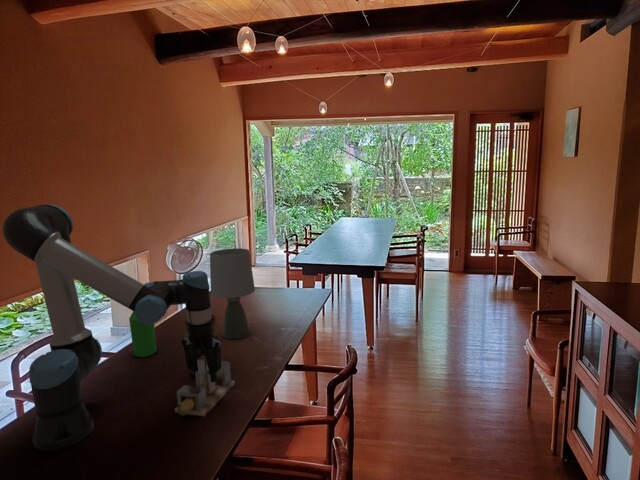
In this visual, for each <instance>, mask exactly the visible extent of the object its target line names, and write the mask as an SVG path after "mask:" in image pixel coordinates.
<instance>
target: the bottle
mask: <svg viewBox="0 0 640 480" xmlns="http://www.w3.org/2000/svg"><path fill="white" fill-rule="evenodd" d="M128 321H129V326H130V334H131V335H130V337H131V343H132V350H133V356H135V357H136V358H148V357H150V356H153V355H155V353H156V352H157V350H158V348H157V347H158V346H157V341H156V339H157V337H156V332H155V331H156V330H155V323H154V324H144V323H142V322H140V321H139V320H138V319H137V317H136V316H135V312H134V311H132V313H131V314H130V317H129V320H128Z"/></svg>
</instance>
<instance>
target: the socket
mask: <svg viewBox="0 0 640 480" xmlns="http://www.w3.org/2000/svg"><path fill="white" fill-rule="evenodd" d="M230 363H231V362H230V361H224V360H221V369H220V370H219V371H217V372H216V377H217V380H218V381H222V386H226V385H227V384H228V383H229V382H230V381H232V374H231V364H230Z"/></svg>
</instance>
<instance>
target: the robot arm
mask: <svg viewBox="0 0 640 480" xmlns="http://www.w3.org/2000/svg"><path fill="white" fill-rule="evenodd" d="M73 230H74V222H73V218H72V217H71V215H70V214H69V212H68V211H67V210H66V209H65V208H63V207H60V206H59V205H55V204H49V203H48V204H47V203H44V204H37V205H34V206H29V207H23V208H18V209H16V210H14V211H12V212H11V213H10V214H9V215H7V217H5V219H4V222H3V224H2V235H3V238H4V239H5V241H6V243H7V244H8V245H9V246H10V247H11V249H13V250H14V251H16V252H17V253H19V254H20V255H22V256H23V257H25V258H27V259H29V260H31V261H33V262H34V263H35V266H36V270H37V274H38V278H39V282H40V287H41V290H42V295H43V298H44V302H45V307H46V310H47V314H48V318H49V324H50V327H51V330H52V338H51V339H50V341H49V348H50V351H48V352H46V353H45V354H41V355H39V356H38V357H36V358H35V359H34V360H33V361H32V362H31V364H30V365H29V368H28V369H29V370H28V372H29V383H30V386H31V391H32V392H31V393H32V398H33V403H34V404H33V405H34V409H35V415H36V418H35V425H34V430H33V432H32V443H33V446H34V448H35V449H37V450H40V451H44V452H46V451H47V452H49V451H50V452H51V451H57V450H62V449H66V448H69V447H71V446H74V445H76V444H78V443H80V442H81V441H83V440H85V439H86V438H87V437H88V436H89V435H91V434H92V432H93V431H94V427H95V425H94V420H93V419H94V418H93V416H92V415H91V413H90V411H89V410H88V408H87V407H86V405H85V403H84V398H83V390H82V384H83V383H84V381H86V380H87V378H88V377H89V376H90V375H91V373H93V372H94V370H95V369H96V368H97V366H98V365H99V363H100V361H101V359H102V355H103V351H102V350H103V349H102V345H101V343H100V342H99V340H98V339H97V338H95V337H94V336H93V332H92V330H91V329H89V328H86V326H85V321H84V317H83V314H82V309H81V304H80V300H79V296H78V291H77V288H76V284H75V283H76V282H75V280H76V281H78V282H80V283H82V284H83V285H85V286H86V287H89V288H91V289H93V290H94V291H96V292H98V293H100V294H101V295H103V296H105V297H107V298H109V299H111V300H113V301H114V302H116V303H117V304H120V305H121V306H123V307H126V308H127V309H129V310H131V311H132V312H133V311H134V312H135V316H136V317H137V319H138V320H139V321H140V322H142V323H144V324H154V325H155V324H156V323H158V322H159V321H160V320H161V319H162V318H163V317H164V316H165V315H166V314H167V311H168V309H169V308H170V307H171V306H176V305H177V306H178V305H185V314H186V318H187V321H188V333H189V337H186V338H185V337H184V339H182V340H181V344H182V346H183V349H184V358H185V364H186V368H187V369H188V370H190V369H191V370H192V371H191V370H190V371H191V372H193V374H194V376H193V379H194V381H195V384H196V387H199V386H200V384H199V374H198V364H197V359H198V358H200V355H201V350H203V353H204V354H205V357H206V361H207V365H208V369H209V373H207V376H208V387H209V393H212V392H213V391H214V390H215V381H216V379H217V377H216V372H217V371H219V370H220V369H221V361H222V345H223V341H222V340H221V339H218V340H216V339H214V336H213V325H212V320H211V318H212V315H211V313H212V307H211V304H212V303H211V290H210V284H209V283H210V282H209V276H208V274H207V273H206V271H203V270H194V271H188V272H185V273H184V274H182V279H175V280H161V281H158V280H154V281H150V282H149V281H147V282H145V283H144V284H143V283H142V282H140V281H138V280H137V279H135V278H133V277H131V276H130V275H128V274H125V273H124V272H122V271H121V270H119V269H116V268H115V267H113V266H112V265H109V263H106V262H105V261H103V260H101V259H99V258H97V257H96V256H94V255H92V254H90V253H88V252H87V251H85V250H83V249H81V247H79V246H77V245H74V244H73V243H72V241H71V237H70V236H71V234H72V232H73ZM191 343H192V345H193V351H192V345H191ZM212 343H213V347H214V350H213V352H214V357H213V353H212V345H211V344H212Z"/></svg>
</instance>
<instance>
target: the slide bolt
mask: <svg viewBox="0 0 640 480" xmlns="http://www.w3.org/2000/svg"><path fill="white" fill-rule="evenodd" d="M197 364H198V374H199V384H200V386H199V387H203V388H205V390H206V395H209V394H210V393H209V387H208V376H207V373H209V369H208V365H207V361H206V357H205V356H201V357H200V358H198V359H197ZM217 384H218V380H217V379H216V381H215V387H216V386H217ZM195 406H196V402H195V397H191V396H188V397H187V398H186V399H185V400H184V401H183V402H182V403H181V404H180V405H178V404H177V411H178V413H177V414H178V415H180V416H182V417H184V416H187V415H189V414H188V413H189V412H190V411H191V410H192V409H193V408H194V407H195Z"/></svg>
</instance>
